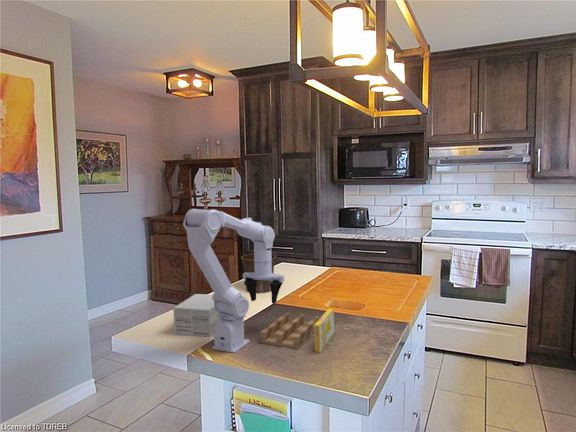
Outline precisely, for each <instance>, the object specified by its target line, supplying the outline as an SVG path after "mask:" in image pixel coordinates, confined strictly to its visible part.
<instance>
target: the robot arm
mask: <svg viewBox="0 0 576 432" xmlns="http://www.w3.org/2000/svg"><path fill="white" fill-rule="evenodd" d="M182 226H183V228H184V229H185V232H186V238H187V244H188V245H187V246H188V249H189V251H190V253H191V255H192V256H193V258H194V260H195V262H196V263H197V265H198V266H199V268H200V270H201V272H202V273H203V275H204V278H205V279H206V280H207V282H208V284H209V286H210V288H211V289H212V292H213V294H212V295H213V296H212V299H213V301H214V307H215V310H216V311H217V312H218V316H220V320H219V322H218V323H217V324H216V326H215V328H214V334H213V338H214V340H213V341H214V342H213V344H214V345H213V346H212V347H211V349H212V350H216V351H221V352H227V353H233V354H234V353H236V352H238V351H239V350H240V349H242V348H243V347H244V346H246V345H247V344H248V343H249V342H250V339H247V338H246V339H245V327H244V325H245V321H244V319H245V318H246V315H247V314H248V311H249V307H250V304H249V300H248V299H247V297H244V296H243V294H242V293H241V292H240V290H238V289H236V288H235V287H234V286H233V285H232V283H231V282H230V280H229V277H228V276H227V273H226V272H225V270H224V268H223V266H222V265H221V263H220V261H219V260H218V257H217V256H216V253H215V252H214V250H213V248H212V246H211V244H212V243H213V242H214V241H215V239H216V237H217V234H218V233H219V231H220V230H221V228H224V227H225V228H229V229H231V230H234V231H236V233H237V234H238V235H239V236H240V237H243V238H246V239H249V240H250V241H251V242H253V254H254V265H255V273H248V272H245V273H244V272H243V273H242V280H244V282H243V283H244V285H245V288H246V287H247V289H248V291H249V292H248V294H249V296H250V300H251V302H254V301H257V293H256V285H257V280H266V281H273V282H272V283H270V287H271V291H270V292H271V303H272V304H276V303H277V300H278V295H279V292H280V290H281V287H282V285H283V283H284V282H285V275H282V274H276V273H272V256H271V254H272V248H273V246H274V244H273V243H274V240H275V239H276V233H275V231H274V229H273V228H272V227H271V226H270V225H263V224H262V222H260V221H253V218H252V217H245V218H242V219H239V218H237V217H234V216H232V215H230V214H227V213H226V212H224V211H221V210H217V209H198V208H190V209H189V210H188V211H187V212H186V213H185V216H184V220H183V223H182ZM245 279H246V281H245Z"/></svg>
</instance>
